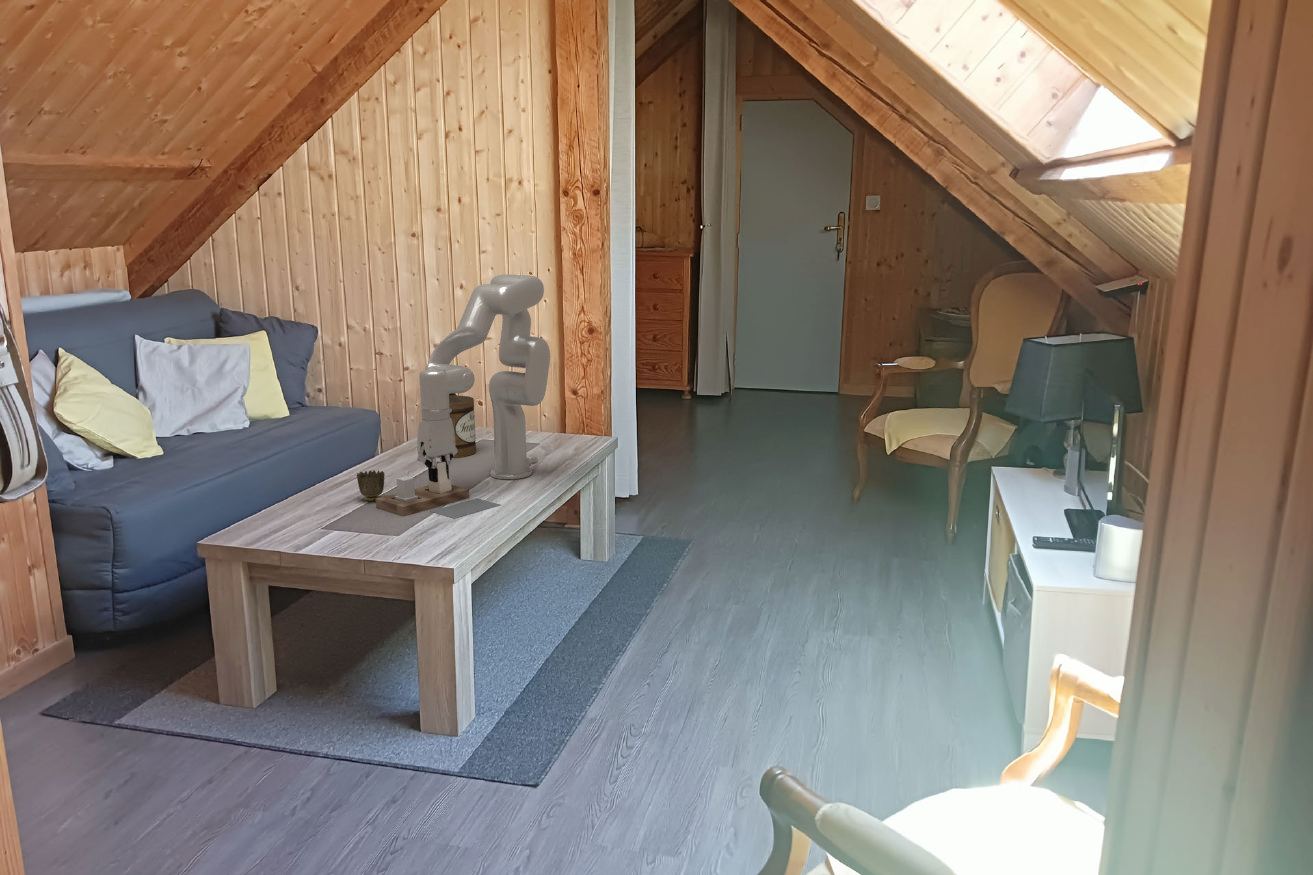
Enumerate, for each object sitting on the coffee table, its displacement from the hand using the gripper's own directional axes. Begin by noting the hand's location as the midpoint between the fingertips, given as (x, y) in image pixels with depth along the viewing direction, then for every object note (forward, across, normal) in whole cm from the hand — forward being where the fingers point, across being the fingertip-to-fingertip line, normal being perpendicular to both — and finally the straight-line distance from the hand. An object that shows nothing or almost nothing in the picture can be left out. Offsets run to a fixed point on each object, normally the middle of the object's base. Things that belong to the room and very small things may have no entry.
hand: (439, 479), depth 274 cm
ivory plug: (+3, 0, 0) cm, 3 cm away
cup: (+6, +12, -14) cm, 19 cm away
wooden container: (+6, -39, -40) cm, 57 cm away
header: (+6, +6, 0) cm, 8 cm away
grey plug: (+5, +11, 0) cm, 12 cm away
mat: (+6, +2, +13) cm, 14 cm away
